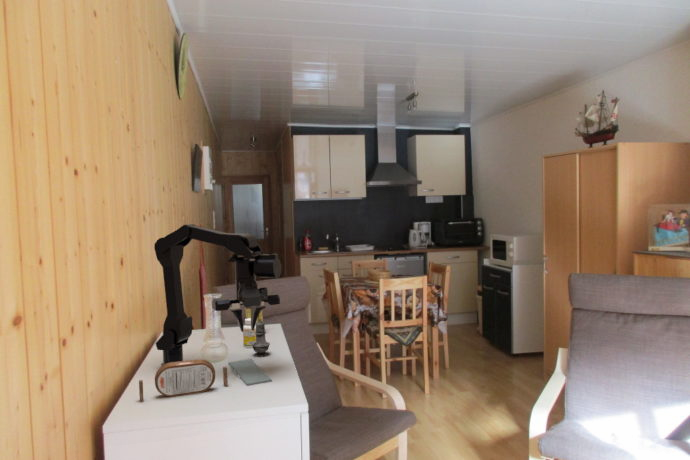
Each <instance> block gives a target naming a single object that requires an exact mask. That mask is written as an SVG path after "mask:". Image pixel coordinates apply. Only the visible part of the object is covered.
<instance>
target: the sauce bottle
mask: <svg viewBox="0 0 690 460" xmlns="http://www.w3.org/2000/svg"><path fill="white" fill-rule="evenodd" d="M258 285H259V284H258V282H257V287H258ZM247 318H251V306H250V307H245V319H247ZM259 319H261V321H262V322H264V317H263V309H262V310H261V311H260V313H259V315H258V318H257V322H259ZM257 322H256V323H257Z"/></svg>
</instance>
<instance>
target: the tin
mask: <svg viewBox="0 0 690 460" xmlns="http://www.w3.org/2000/svg"><path fill="white" fill-rule="evenodd" d="M215 381H216V370H215V367H214V365H213V364H212V363H211V361H208V360H207V359H203V358H201V359H200V358H199V359H193V360H191V359H190V360H183V361H179V362H170V363H167V364H164V365H163V366H160V367H159V368H158V369H157V371H156V372H155V376H154V385H155V389H156V390H157V392H159V394H161V395H163V396H164V397H177V396H185V395H192V394H200V393H205V392H206V391H208V390H210V388H212V386H213V385H214V382H215Z"/></svg>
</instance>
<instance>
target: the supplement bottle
mask: <svg viewBox="0 0 690 460" xmlns="http://www.w3.org/2000/svg"><path fill="white" fill-rule="evenodd" d="M256 322H257V321H256ZM255 332H256V324H255V327H254V330H251V318H247V319H246V318H245V319H244V324H243V332H242V334H243V340H242V341H243V347H244V348H245V349H253V346H252V344H253V343H255V342H256V334H255Z"/></svg>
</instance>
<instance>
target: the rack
mask: <svg viewBox="0 0 690 460" xmlns="http://www.w3.org/2000/svg"><path fill="white" fill-rule="evenodd" d="M222 373H223V374H222V377H223V386H224V387H225V388H226V387H229V383H228V382H229V379H228V367H227V366H223V367H222ZM138 389H139V391H138V392H139V402H140V403H144V400H145V399H144V382H143V379H141V380H140V379H139V380H138Z"/></svg>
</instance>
